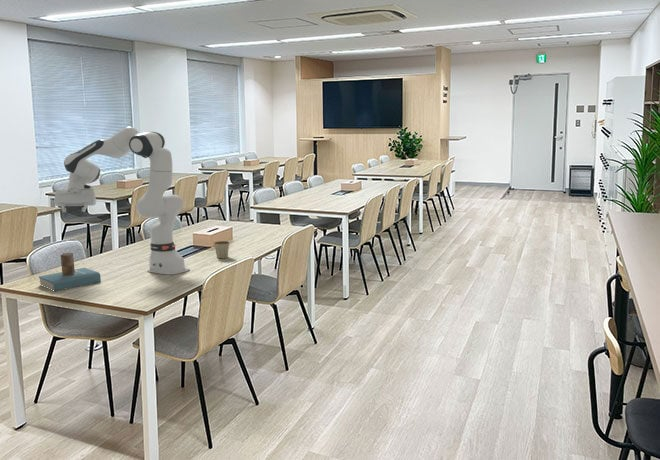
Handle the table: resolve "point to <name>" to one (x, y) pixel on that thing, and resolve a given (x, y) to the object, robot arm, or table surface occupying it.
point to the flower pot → (221, 249)
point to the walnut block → (67, 264)
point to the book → (70, 279)
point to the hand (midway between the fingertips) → (73, 211)
